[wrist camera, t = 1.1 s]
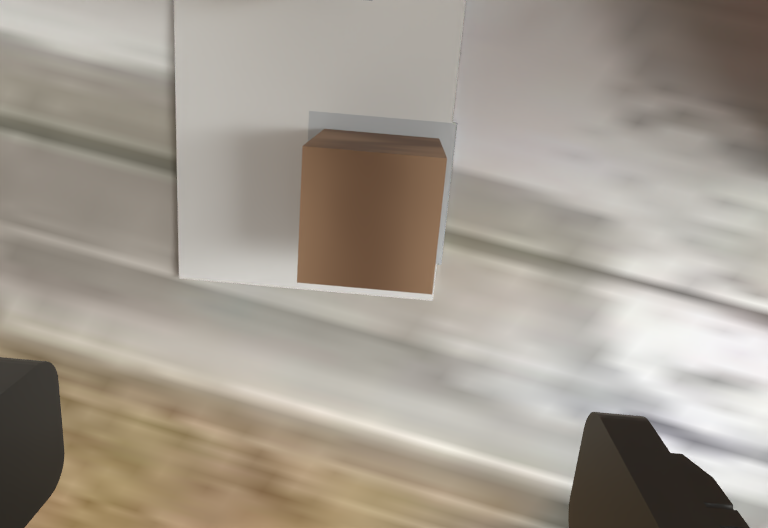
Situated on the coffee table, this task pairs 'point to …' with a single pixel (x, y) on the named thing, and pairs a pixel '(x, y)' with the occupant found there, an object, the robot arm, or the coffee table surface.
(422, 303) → the coffee table surface
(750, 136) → the coffee table surface
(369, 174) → the walnut block
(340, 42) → the white board
